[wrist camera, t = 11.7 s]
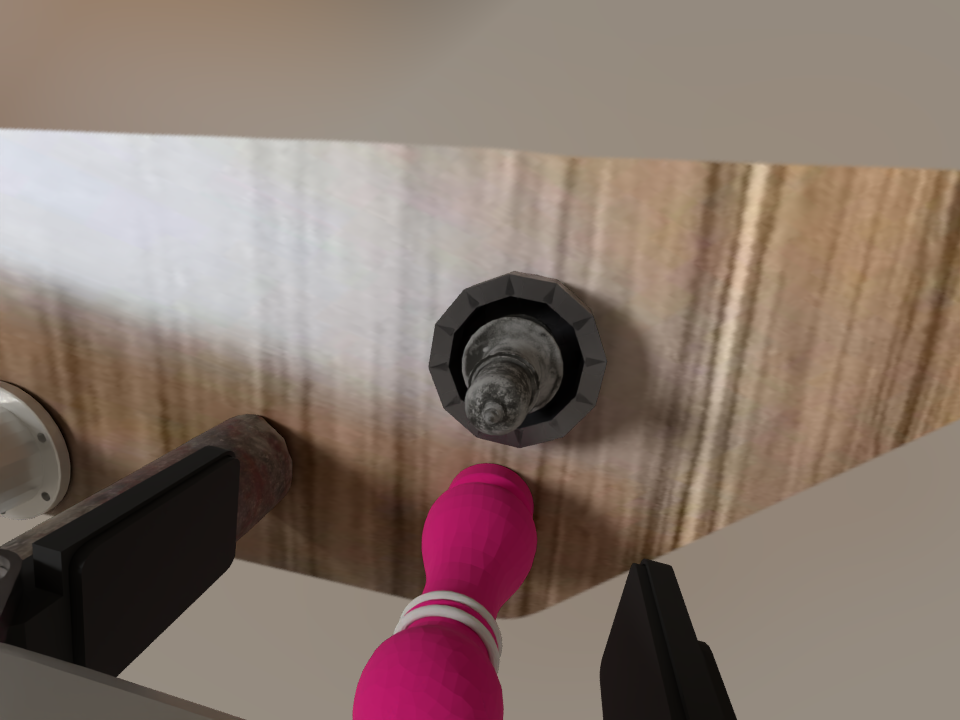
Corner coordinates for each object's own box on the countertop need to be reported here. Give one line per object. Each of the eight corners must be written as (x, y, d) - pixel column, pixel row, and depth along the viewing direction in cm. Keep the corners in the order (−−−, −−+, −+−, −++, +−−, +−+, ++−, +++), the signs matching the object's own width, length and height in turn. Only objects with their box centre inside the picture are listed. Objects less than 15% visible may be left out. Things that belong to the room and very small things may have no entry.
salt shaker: (576, 380, 30) (585, 462, 19) (493, 409, 32) (453, 501, 20) (543, 294, 30) (530, 326, 18) (459, 328, 31) (396, 378, 20)
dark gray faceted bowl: (474, 440, 33) (463, 462, 30) (423, 302, 32) (406, 309, 28) (619, 402, 31) (625, 421, 28) (572, 250, 29) (573, 251, 26)
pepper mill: (446, 447, 34) (288, 710, 15) (547, 465, 33) (518, 772, 14) (437, 535, 36) (288, 871, 17) (533, 555, 35) (491, 937, 16)
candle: (322, 464, 36) (44, 712, 17) (268, 519, 38) (-33, 795, 19) (249, 393, 36) (-118, 564, 17) (199, 453, 38) (-178, 666, 19)
